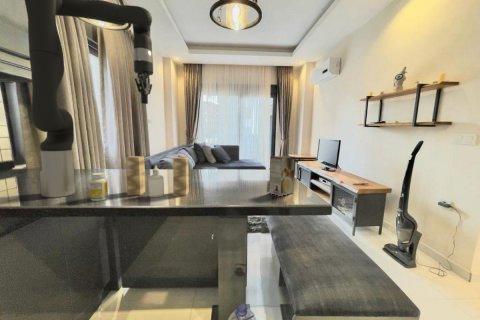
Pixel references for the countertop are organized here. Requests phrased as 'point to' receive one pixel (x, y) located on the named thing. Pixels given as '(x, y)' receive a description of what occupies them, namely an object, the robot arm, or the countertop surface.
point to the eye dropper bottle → (156, 184)
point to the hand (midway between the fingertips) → (144, 103)
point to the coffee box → (282, 175)
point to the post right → (180, 176)
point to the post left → (135, 175)
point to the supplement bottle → (98, 187)
